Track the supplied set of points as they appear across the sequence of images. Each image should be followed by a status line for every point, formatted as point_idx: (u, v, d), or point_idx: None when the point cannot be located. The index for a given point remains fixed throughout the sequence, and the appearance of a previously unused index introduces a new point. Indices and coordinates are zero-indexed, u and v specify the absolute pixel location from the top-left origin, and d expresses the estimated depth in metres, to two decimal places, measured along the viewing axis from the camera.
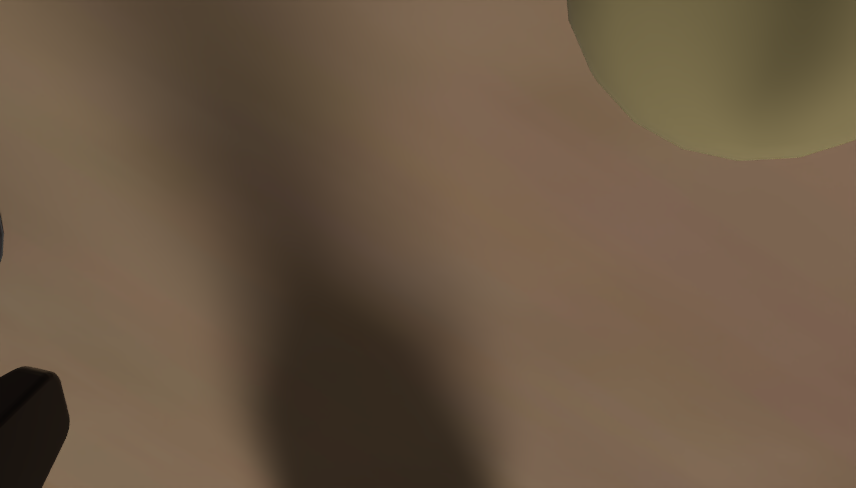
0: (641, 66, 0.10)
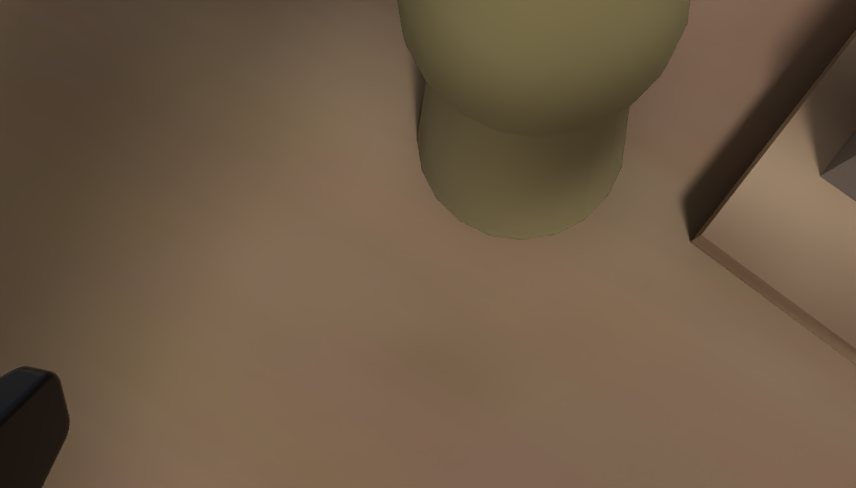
0: (454, 2, 0.13)
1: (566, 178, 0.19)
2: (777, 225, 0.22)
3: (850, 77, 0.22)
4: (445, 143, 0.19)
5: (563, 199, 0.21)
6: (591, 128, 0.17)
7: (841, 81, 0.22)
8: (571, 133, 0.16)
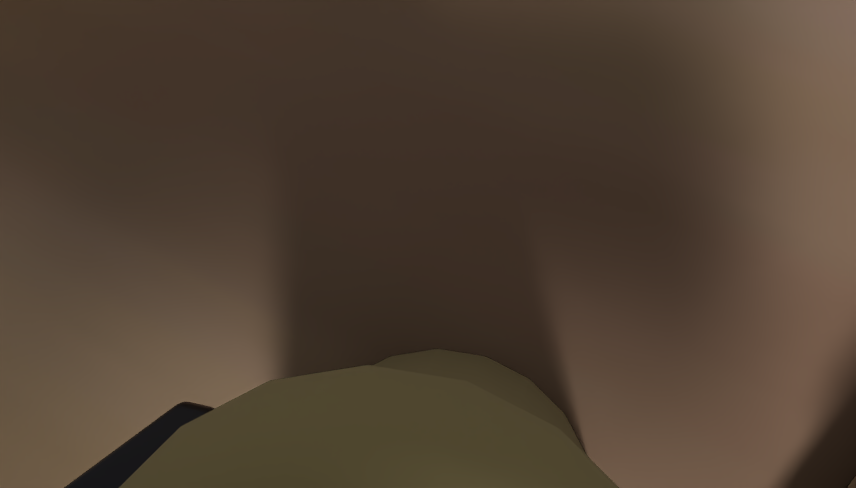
0: None
1: None
2: None
3: None
4: None
5: None
6: None
7: None
8: None
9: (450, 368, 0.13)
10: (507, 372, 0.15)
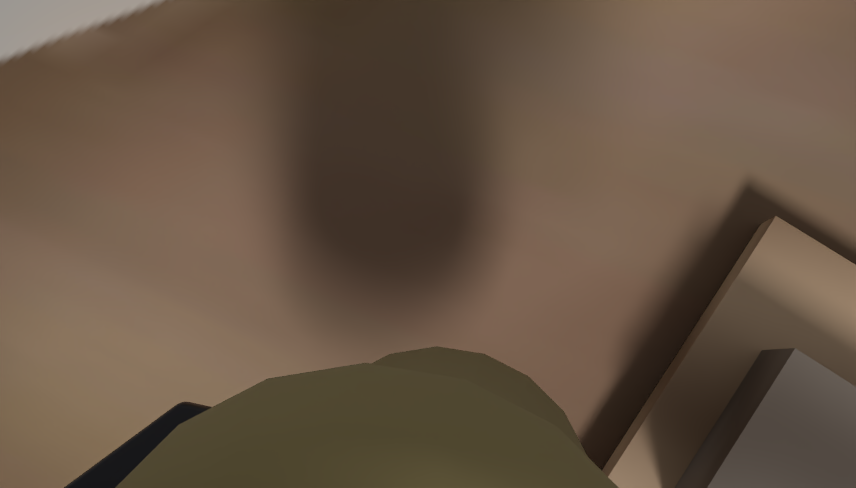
0: None
1: None
2: None
3: (691, 389, 0.21)
4: None
5: None
6: None
7: (682, 394, 0.21)
8: None
9: (449, 366, 0.13)
10: (506, 370, 0.15)
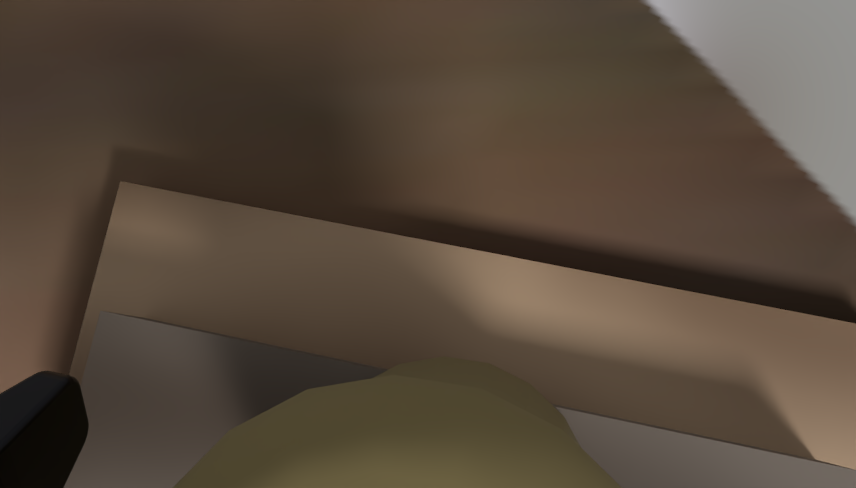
0: None
1: None
2: None
3: None
4: None
5: None
6: None
7: None
8: None
9: (457, 375, 0.14)
10: (510, 378, 0.16)
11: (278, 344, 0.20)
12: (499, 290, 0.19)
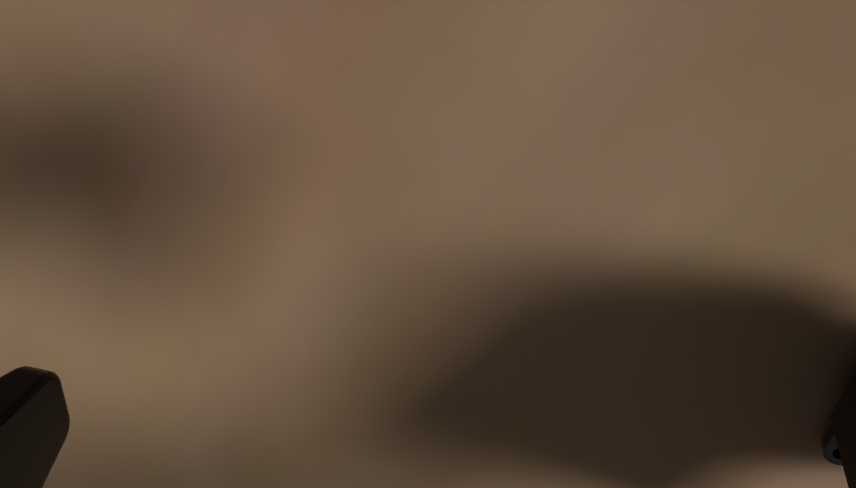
0: None
1: None
2: None
3: None
4: None
5: None
6: None
7: None
8: None
9: None
10: None
11: None
12: None
